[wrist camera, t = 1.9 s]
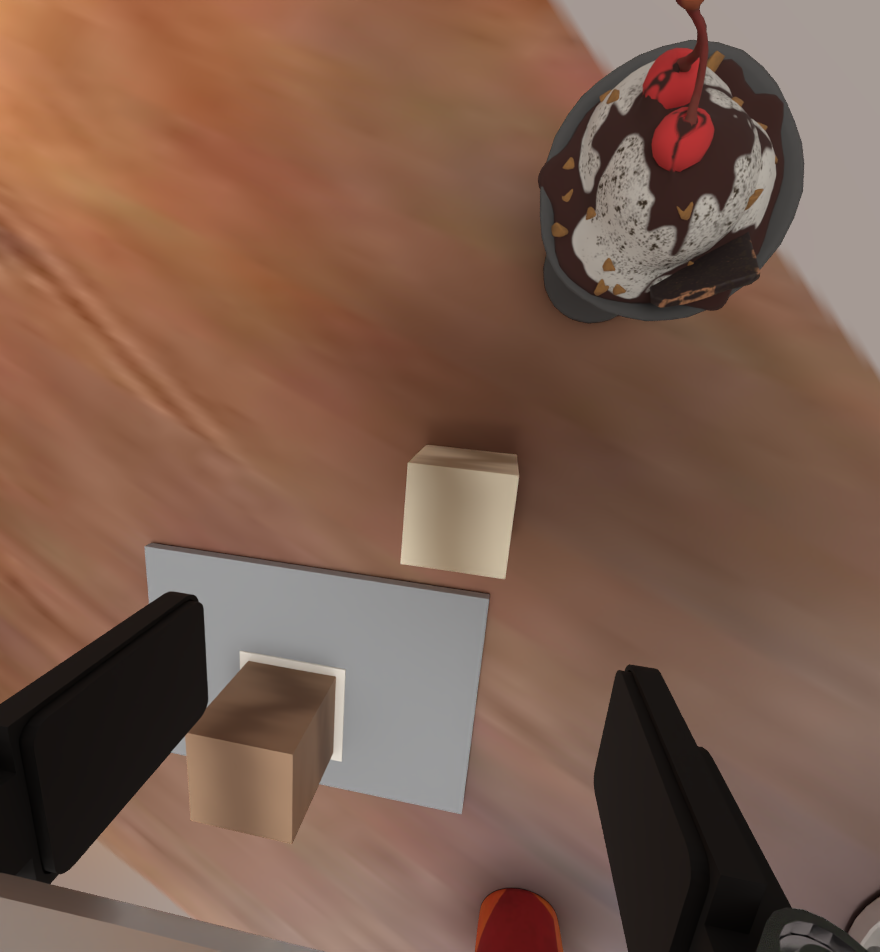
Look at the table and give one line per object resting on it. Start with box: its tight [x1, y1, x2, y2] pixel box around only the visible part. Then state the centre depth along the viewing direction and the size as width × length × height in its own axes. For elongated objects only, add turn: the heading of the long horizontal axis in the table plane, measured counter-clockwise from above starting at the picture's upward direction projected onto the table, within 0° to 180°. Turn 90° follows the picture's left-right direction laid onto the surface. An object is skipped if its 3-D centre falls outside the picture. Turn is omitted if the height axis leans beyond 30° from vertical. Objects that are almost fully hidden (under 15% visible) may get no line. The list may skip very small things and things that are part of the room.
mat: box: [145, 543, 490, 814], centre depth 29 cm, size 22×16×1 cm
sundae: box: [538, 0, 804, 323], centre depth 14 cm, size 7×7×15 cm
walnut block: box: [185, 661, 336, 844], centre depth 27 cm, size 6×6×6 cm
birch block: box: [401, 445, 519, 579], centre depth 23 cm, size 5×5×5 cm
